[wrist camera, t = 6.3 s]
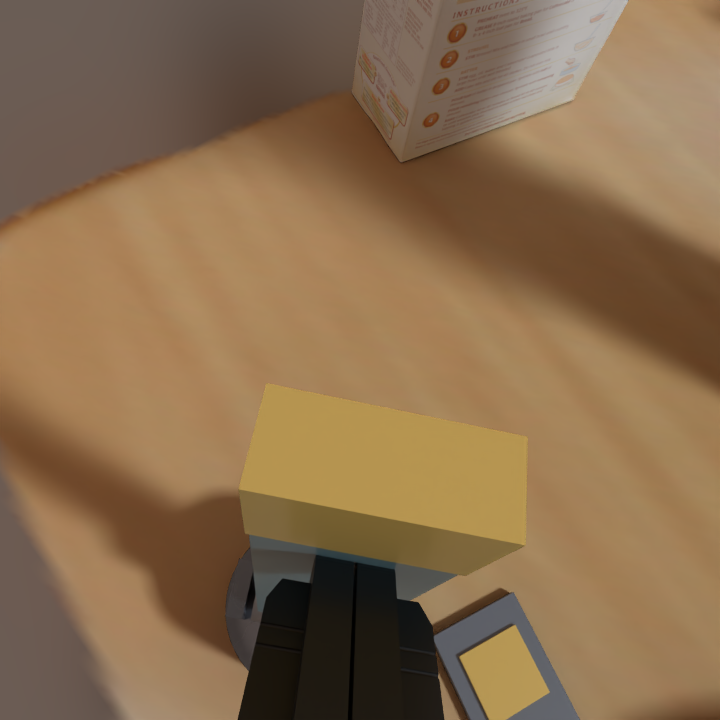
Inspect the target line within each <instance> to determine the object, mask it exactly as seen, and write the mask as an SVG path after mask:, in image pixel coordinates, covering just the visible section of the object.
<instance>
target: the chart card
mask: <svg viewBox="0 0 720 720" xmlns="http://www.w3.org/2000/svg"><path fill="white" fill-rule="evenodd" d="M434 642H435V648H436V650H437V653H438V655H439V657H440V659H441V661H442V663H443V665H444V668H445V670H446V672H447V674H448V676H449V678H450V681H451V683H452V685H453V687H454V689H455V691H456V693H457V696H458V698H459V700H460V702H461V704H462V706H463V709H464V711H465V713H466V715H467V717H468V719H469V720H580V719H579V717H578V715H577V713H576V711H575V709H574V707H573V705H572V704H571V702H570V700H569V698H568V696H567V694H566V692H565V690H564V688H563V686H562V684H561V682H560V681H559V679H558V677H557V675H556V673H555V671H554V669H553V667H552V665H551V663H550V661H549V659H548V658H547V656H546V654H545V652H544V650H543V648H542V646H541V644H540V642H539V640H538V638H537V636H536V635H535V633H534V631H533V629H532V627H531V625H530V623H529V621H528V619H527V617H526V615H525V613H524V612H523V610H522V608H521V606H520V604H519V602H518V600H517V598H516V596H515V594H514V592H511V593H509V594H507V595H505V596H503V597H502V598H500V599H498V600H496V601H494V602H492V603H491V604H489V605H487V606H485V607H483V608H482V609H480V610H478V611H476V612H474V613H473V614H471V615H469V616H467V617H465V618H463V619H462V620H460V621H458V622H456V623H454V624H453V625H451V626H449V627H447V628H445V629H444V630H442V631H440V632H438V633H436V634H434Z"/></svg>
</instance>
